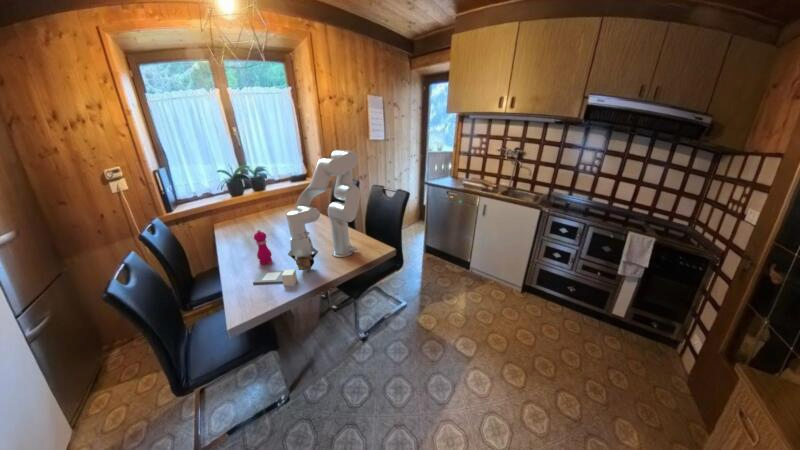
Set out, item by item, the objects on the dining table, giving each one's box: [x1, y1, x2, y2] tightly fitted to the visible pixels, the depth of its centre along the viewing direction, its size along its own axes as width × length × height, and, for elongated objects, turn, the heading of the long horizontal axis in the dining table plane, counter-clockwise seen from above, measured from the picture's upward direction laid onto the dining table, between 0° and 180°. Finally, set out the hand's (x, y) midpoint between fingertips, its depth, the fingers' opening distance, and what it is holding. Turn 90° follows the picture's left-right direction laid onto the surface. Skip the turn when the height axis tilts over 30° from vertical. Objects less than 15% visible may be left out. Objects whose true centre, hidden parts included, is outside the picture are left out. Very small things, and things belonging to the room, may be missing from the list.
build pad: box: [252, 270, 285, 285], centre depth 134 cm, size 14×10×1 cm
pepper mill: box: [253, 229, 273, 266], centre depth 146 cm, size 7×7×20 cm
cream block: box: [281, 268, 298, 287], centre depth 129 cm, size 5×5×6 cm
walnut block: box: [295, 255, 313, 271], centre depth 138 cm, size 6×6×6 cm
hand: (305, 265), depth 139 cm, fingers closed on walnut block, 6 cm apart
